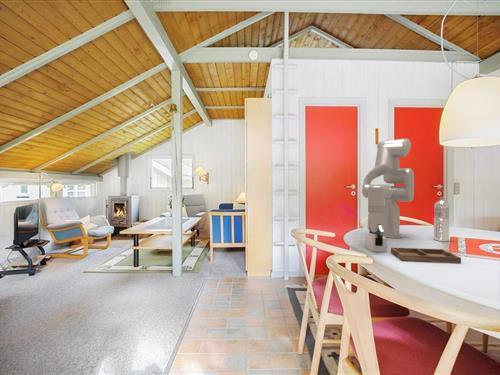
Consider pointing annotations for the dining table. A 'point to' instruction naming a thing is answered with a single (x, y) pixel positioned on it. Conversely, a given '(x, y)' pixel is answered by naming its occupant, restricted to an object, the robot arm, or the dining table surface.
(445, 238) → the water bottle
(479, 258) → the dining table surface
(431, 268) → the dining table surface
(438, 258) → the tray
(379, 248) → the medicine bottle
